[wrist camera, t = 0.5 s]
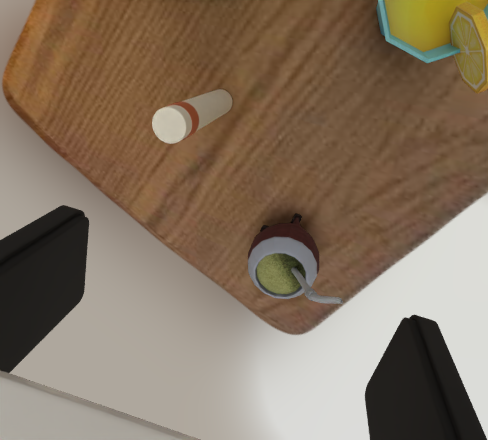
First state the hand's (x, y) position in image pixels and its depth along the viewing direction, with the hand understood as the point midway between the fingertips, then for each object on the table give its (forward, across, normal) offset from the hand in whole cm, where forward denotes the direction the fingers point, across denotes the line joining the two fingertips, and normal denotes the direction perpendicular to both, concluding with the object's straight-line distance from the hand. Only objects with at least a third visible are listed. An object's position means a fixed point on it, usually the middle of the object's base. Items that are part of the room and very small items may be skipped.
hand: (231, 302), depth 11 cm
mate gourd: (+30, -3, +11) cm, 32 cm away
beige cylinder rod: (+29, +8, 0) cm, 30 cm away
